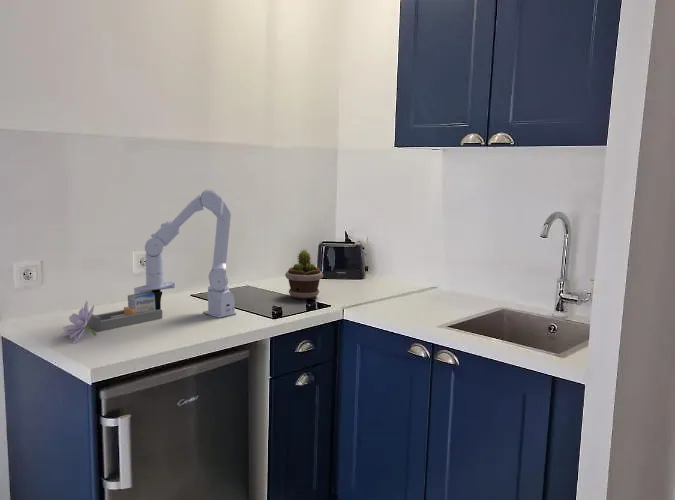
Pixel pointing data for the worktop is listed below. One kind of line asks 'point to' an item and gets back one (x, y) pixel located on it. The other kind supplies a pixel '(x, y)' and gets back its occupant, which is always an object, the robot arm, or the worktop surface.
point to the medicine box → (142, 302)
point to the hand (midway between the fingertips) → (155, 311)
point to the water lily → (79, 323)
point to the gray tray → (120, 319)
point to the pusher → (126, 312)
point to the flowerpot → (304, 278)
